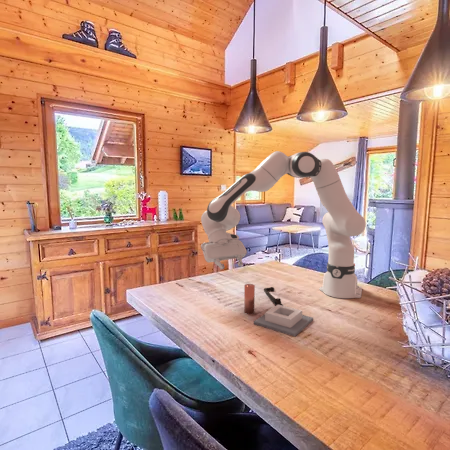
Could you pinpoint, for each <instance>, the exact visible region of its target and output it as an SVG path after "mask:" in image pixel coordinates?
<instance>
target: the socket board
mask: <svg viewBox="0 0 450 450" xmlns="http://www.w3.org/2000/svg"><path fill="white" fill-rule="evenodd" d="M313 321H314V316H313V317H312V316H308V315H303V310H302V309H298V308H294V307H290V306H286V305H283V306H282V305H276V306H275V305H274V306H273V307H272V308H270V309H268V310H267V311H266V312H264V314H263V315H261V316H260V317H258V318H257V319H255V320H253V324H254V325H256V326H259V327H263V328H266V329H269V330H272V331H276V332H279V333H282V334H285V335H289V336H293V337H296V336H297V335H299V333H300V332H302V331H303V330H304V329H305V328H307V326H309V325H310V324H311V323H312V322H313Z"/></svg>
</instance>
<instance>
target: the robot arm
mask: <svg viewBox="0 0 450 450" xmlns="http://www.w3.org/2000/svg"><path fill="white" fill-rule="evenodd" d="M285 175H288V176H290V177H292V178H296V179H297V178H298V179H304V178H310V179H311V180H312V182H313V185H314V188H315V190H316V192H317V195H318V198H319V200H320V203H321V205H322V206H323V207H324V208H325V210H327V212H326V213H324V215H323V217H322V222H321V223H322V225H323V227H324V229H325V233H326V234H325V235H326V238H327V239H326V240H327V245H328V258H327V259H328V261H327V263H326V272H324V273H323V280H322V286H320V287H319V291H320V292H323V293H324V294H325V295H326V296H329V297H332V298H336V299H337V298H338V299H354V298H355V299H361V298H362V292H363V287H362V286H360V285H358V276H357V275H356V271H355V270H356V263H354V262H355V247H354V245H353V243H352V240H351V237H357V236H360V235H361V234H362V233H363V232H364V231H365V229H366V225H367V223H366V220H365V218H364V216H363V215H361V214H360V213H359V212H358V210H357V209H356V208H355V206H354V205H353V203H352V202H351V200H350V199H349V196H348V195H347V193H346V190H345V187H344V185H343V182H342V180H341V178H340V175H339V172H338V171H337V169H336V166H335V165H334V164H333V162H332V160H330V159H328V158H321V159H319V158H318V157H316V156H315V155H314V153H311V152H308V151H302V152H301V151H299V152H296V153H293V154H292V155H289V156H288V155H287V154H285V152H283V151H278V150H275V151H273V152H272V153H270V154H269V155H268V156H266V158H264V159H263V160H262V161H261V162H260V163H259V164H258V165H257V167H255V168H254V169H253V170H252V171H250V172H248V173H246V174H244V175H241V177H240V178H239V179H237V180H236V181H235V182H234V183H233V184H232V185H230V186H229V187H228V188H226V190H225V191H223V193H221V194H220V195H218V196H216V197H214V198H213V199H212V200H211V201H209V203H208V205H207V207H206V208H207V209H206V210H205V211H204V212H203V213H202V215H201V216H200V222H201V226H202V228H203V230H204V233H205V234H206V235H207V239H208V242H202V243H201V245H200V248H201V251H202V254H203V257H204V260H205V262H207V263H214V264H215V265H216V266H218V269H219V270H224V269H225V268H226V267H225V265H224V263H222V262H221V261H228V260H233V259H234V260H237V261H238V262H237V265H238V267H242V266H243V265H244V262H243V258H244V257H245V256H246V255H247V253H248V252H247V249H246V247H245V245H244V242H242V241H241V240H240V236H239V235H238V234H234V233H230V232H227V231H229V230H233V228H235V227H237V226H238V225H239V223H240V222H241V217H242V216H241V213H240V211H239V210H238V209H237V208H235V207H234V206H233V204H234V203H235V202H236V201H237V200H238V199H240V198H241V197H242V196H243V195H244V194H245V193H247V192H251V191H253V192H259V193H264V192H267V191H269V190H270V189H272V188H273V187H274V186H275V185H276V184H277V183H278V182H279V180H280V179H281V178H282V177H283V176H285Z"/></svg>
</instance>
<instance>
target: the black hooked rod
mask: <svg viewBox="0 0 450 450" xmlns="http://www.w3.org/2000/svg"><path fill="white" fill-rule="evenodd" d="M263 291H264V292H265V294H266V295H267V297H268V299H269V300H270V301H271V303H273V305H274V307H275V306H276V305H282V306H284V304H283V303H282V301H281V300H282V299H281V298H276V297H275V296H273V295H272V294H271V293H270V292H275V288H274V286H270V287H265V288H263Z"/></svg>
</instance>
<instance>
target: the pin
mask: <svg viewBox="0 0 450 450" xmlns="http://www.w3.org/2000/svg"><path fill="white" fill-rule="evenodd" d="M255 286H256V285H255V284H253V283H245V284H244V289H243V290H244V293H243V294H244V295H243V296H244V298H243V299H244V300H243V301H244V304H243V306H244V307H243V308H244V311H243V312H244V314H246V315H254V314H255V300H256V299H255V295H256V294H255V293H256V292H255V290H256V289H255Z"/></svg>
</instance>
